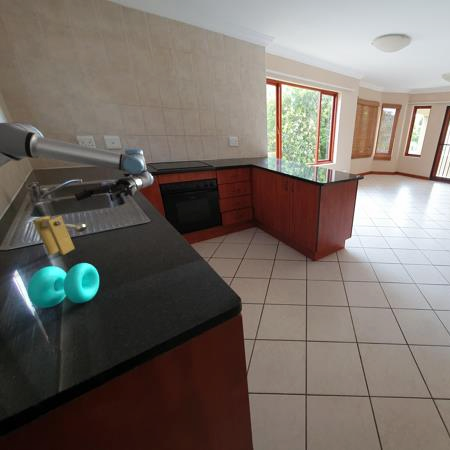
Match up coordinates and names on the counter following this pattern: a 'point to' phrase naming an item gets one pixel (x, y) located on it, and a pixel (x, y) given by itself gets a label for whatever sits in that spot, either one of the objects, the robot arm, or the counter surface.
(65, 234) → the bracket
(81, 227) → the lever
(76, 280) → the donuts
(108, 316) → the counter surface
